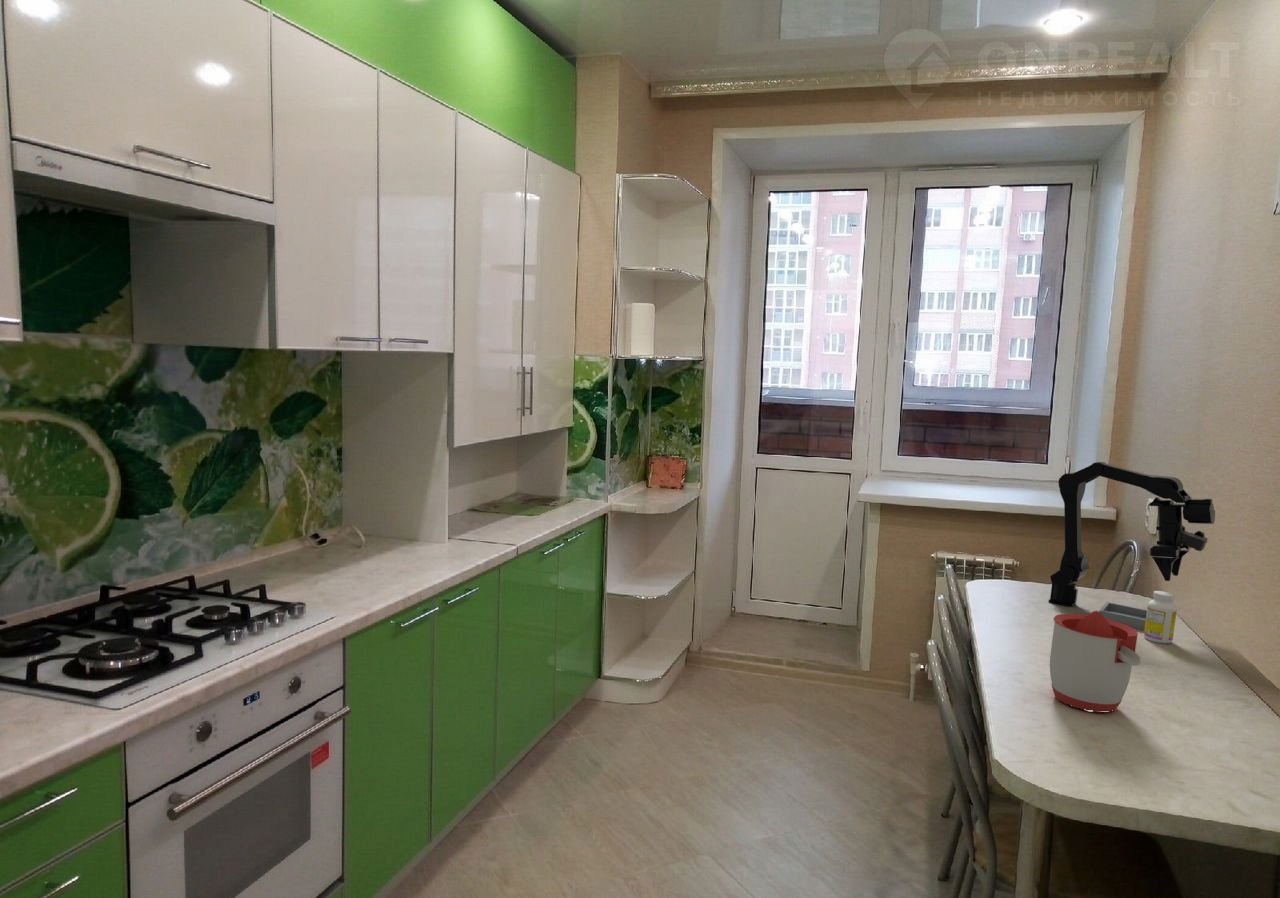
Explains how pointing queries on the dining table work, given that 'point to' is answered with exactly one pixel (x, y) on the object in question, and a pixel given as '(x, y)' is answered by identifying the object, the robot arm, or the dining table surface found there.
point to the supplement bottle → (1160, 618)
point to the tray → (1125, 615)
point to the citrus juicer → (1091, 660)
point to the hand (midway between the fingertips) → (1171, 578)
